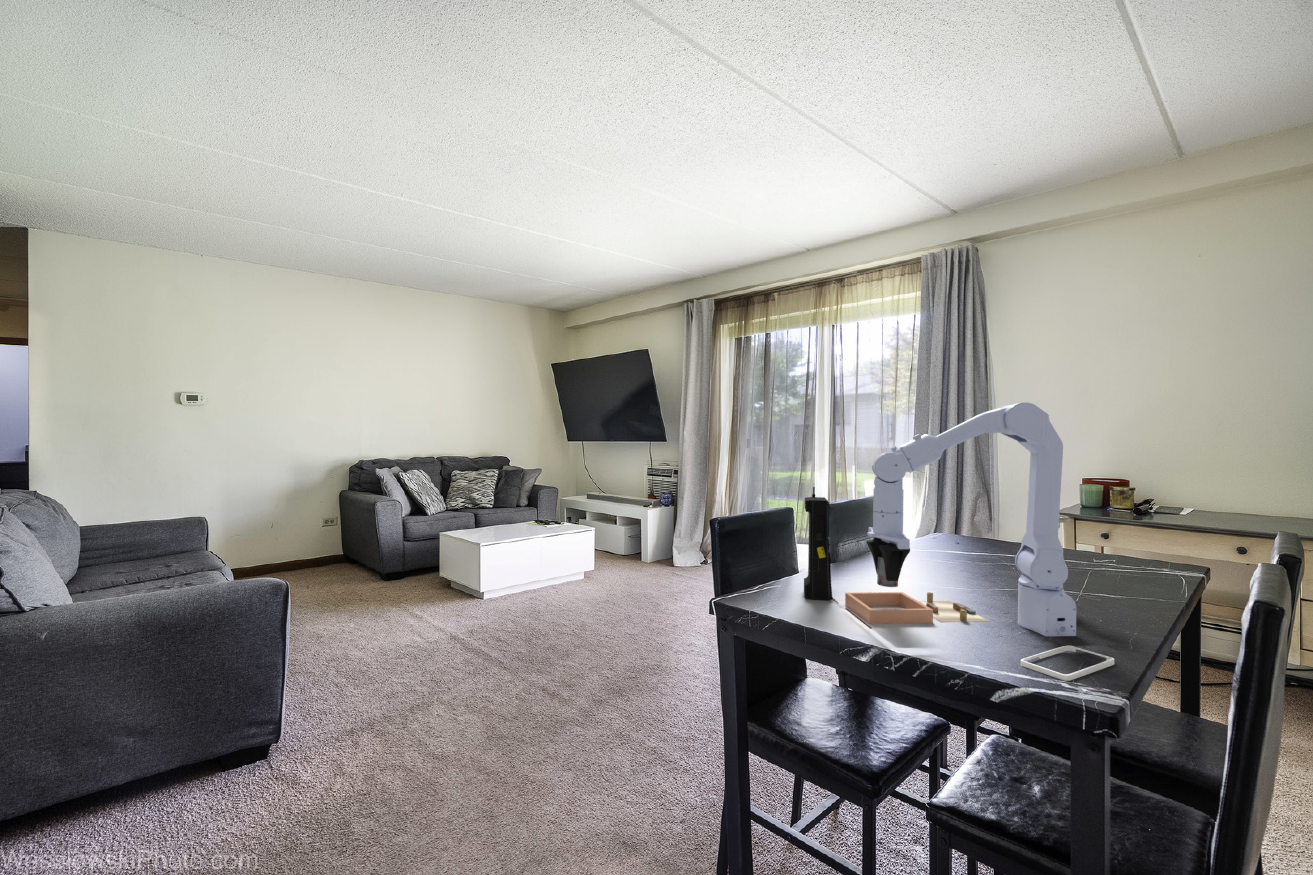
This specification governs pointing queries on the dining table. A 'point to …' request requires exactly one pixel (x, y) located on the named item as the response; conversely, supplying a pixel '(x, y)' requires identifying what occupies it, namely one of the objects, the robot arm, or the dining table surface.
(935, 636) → the dining table surface
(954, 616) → the checker cradle
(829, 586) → the portable radio
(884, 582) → the battery cell
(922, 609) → the low rectangular frame
